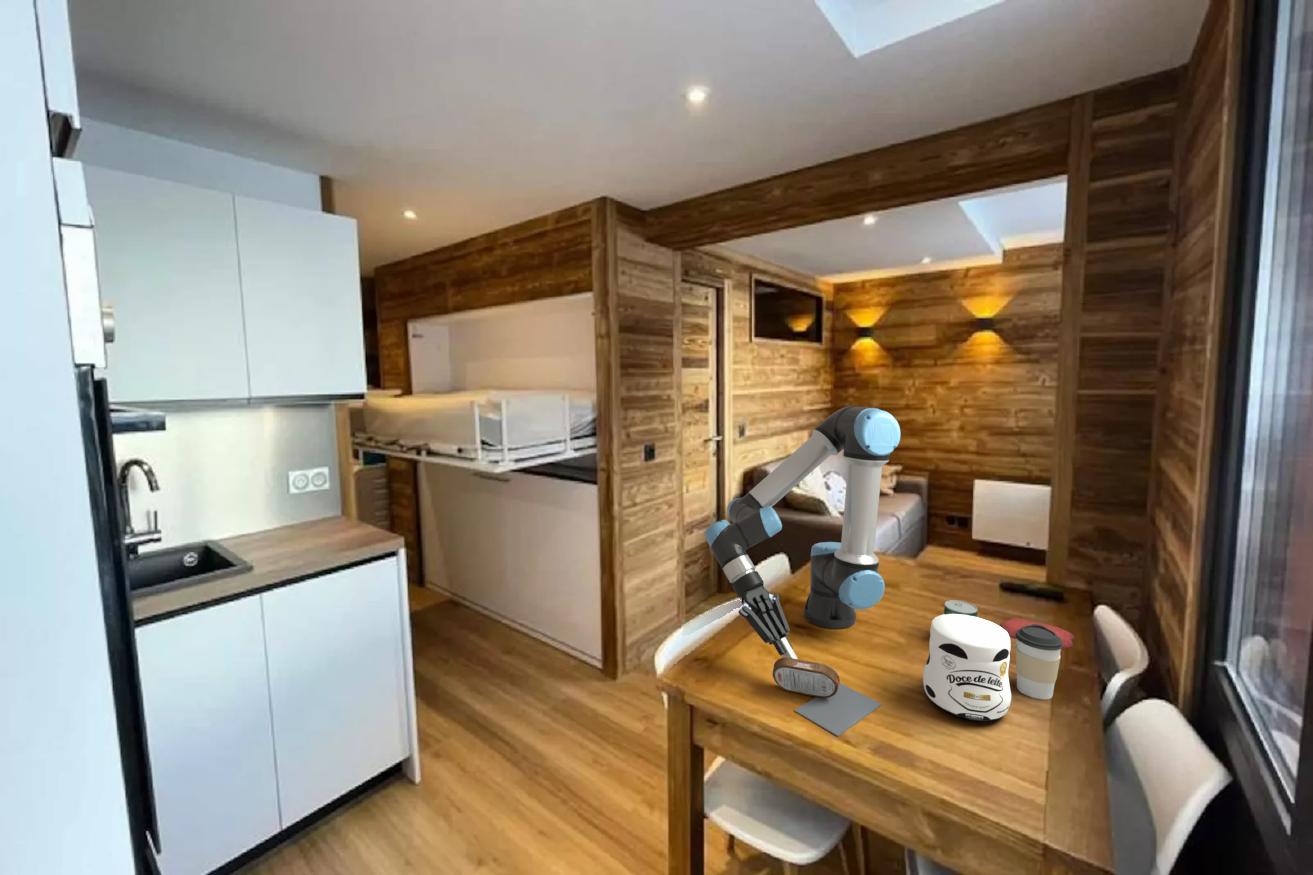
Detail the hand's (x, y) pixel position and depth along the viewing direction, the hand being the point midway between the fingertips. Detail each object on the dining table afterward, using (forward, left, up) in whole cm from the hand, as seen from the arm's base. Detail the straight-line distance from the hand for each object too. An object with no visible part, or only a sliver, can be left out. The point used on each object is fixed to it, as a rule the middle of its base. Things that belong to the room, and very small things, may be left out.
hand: (794, 665), depth 132 cm
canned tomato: (+15, +52, -6) cm, 54 cm away
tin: (+3, +1, -6) cm, 6 cm away
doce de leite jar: (+28, +25, -6) cm, 38 cm away
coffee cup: (+36, +43, -6) cm, 56 cm away
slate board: (+11, +2, -6) cm, 13 cm away
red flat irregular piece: (+26, +75, -7) cm, 80 cm away
